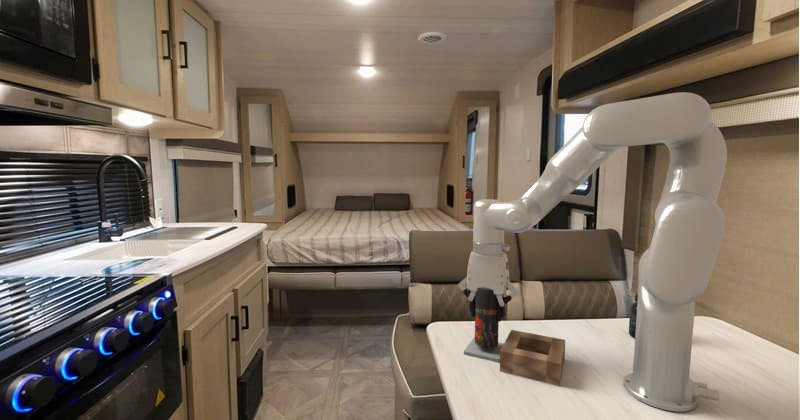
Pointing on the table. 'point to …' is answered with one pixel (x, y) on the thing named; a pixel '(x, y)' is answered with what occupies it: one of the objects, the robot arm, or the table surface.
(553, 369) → the socket block
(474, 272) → the robot arm
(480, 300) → the deodorant
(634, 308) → the supplement bottle
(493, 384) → the table surface
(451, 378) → the table surface
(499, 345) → the rubber mat
